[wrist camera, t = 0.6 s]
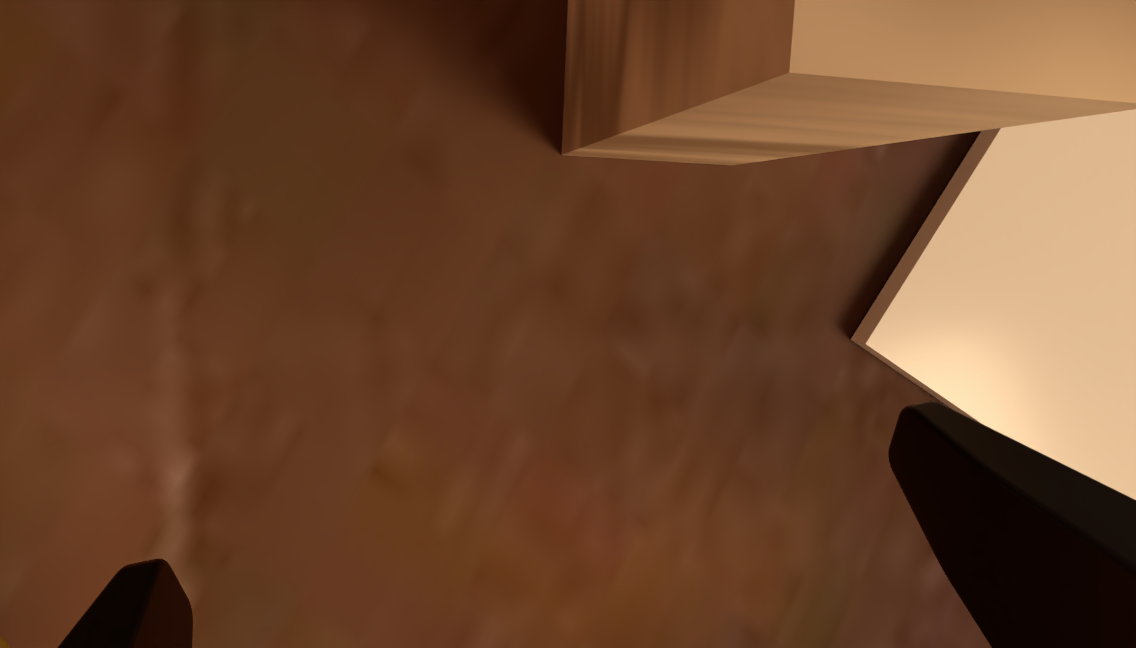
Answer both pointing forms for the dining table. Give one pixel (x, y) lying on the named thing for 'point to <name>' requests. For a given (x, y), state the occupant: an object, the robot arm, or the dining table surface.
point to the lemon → (3, 643)
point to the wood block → (831, 73)
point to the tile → (1028, 293)
